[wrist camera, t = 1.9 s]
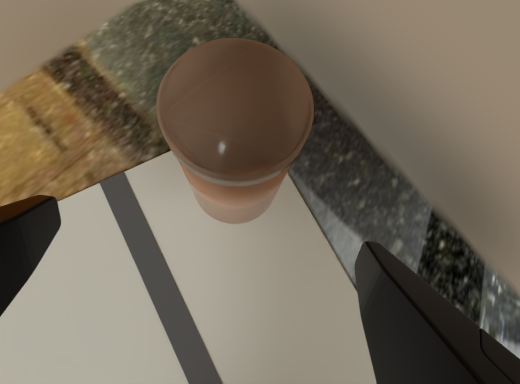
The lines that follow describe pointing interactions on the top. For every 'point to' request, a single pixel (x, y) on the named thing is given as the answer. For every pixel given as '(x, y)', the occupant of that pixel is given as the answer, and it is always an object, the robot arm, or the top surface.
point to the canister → (234, 123)
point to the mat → (183, 294)
